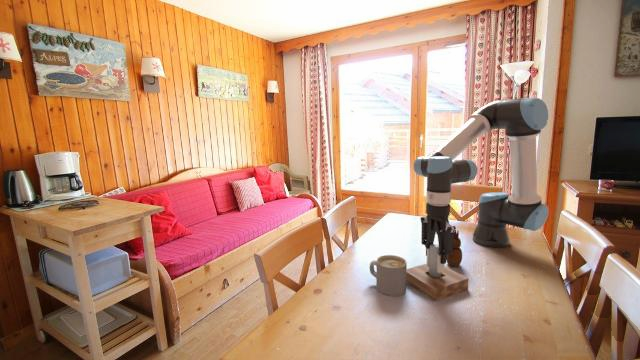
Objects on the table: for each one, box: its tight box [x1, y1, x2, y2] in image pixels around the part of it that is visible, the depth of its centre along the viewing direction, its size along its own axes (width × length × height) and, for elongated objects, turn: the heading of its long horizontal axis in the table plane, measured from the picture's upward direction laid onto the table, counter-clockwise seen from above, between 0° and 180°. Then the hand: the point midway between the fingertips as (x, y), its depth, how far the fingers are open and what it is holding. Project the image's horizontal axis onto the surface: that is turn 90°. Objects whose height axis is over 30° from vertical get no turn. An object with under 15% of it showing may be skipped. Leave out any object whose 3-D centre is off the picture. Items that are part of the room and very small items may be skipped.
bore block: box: [406, 263, 469, 302], centre depth 109 cm, size 15×15×4 cm
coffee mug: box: [369, 254, 408, 297], centre depth 108 cm, size 13×10×10 cm
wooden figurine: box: [446, 229, 463, 268], centre depth 122 cm, size 7×6×15 cm
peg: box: [429, 243, 441, 279], centre depth 107 cm, size 4×4×12 cm
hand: (435, 268), depth 108 cm, fingers open, 4 cm apart
